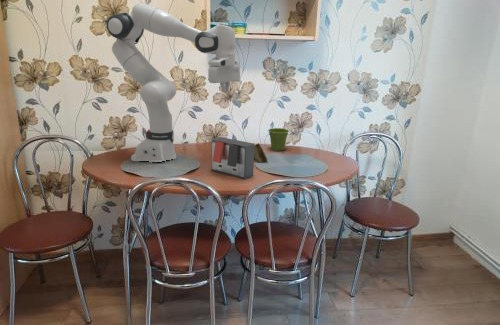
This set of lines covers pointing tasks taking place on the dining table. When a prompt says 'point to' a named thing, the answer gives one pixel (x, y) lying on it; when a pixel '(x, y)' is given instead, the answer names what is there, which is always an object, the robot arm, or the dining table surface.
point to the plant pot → (278, 138)
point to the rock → (259, 154)
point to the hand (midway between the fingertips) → (225, 91)
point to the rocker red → (218, 152)
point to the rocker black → (232, 155)
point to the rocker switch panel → (243, 158)
